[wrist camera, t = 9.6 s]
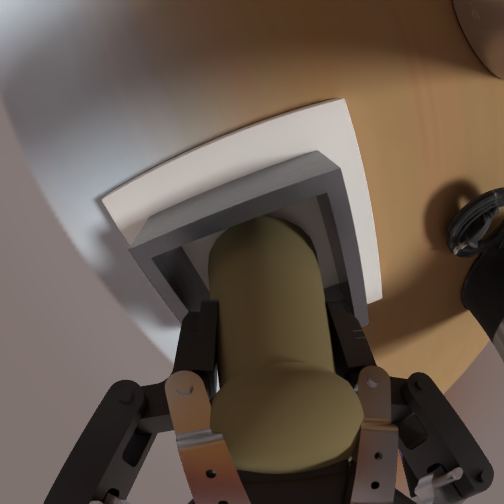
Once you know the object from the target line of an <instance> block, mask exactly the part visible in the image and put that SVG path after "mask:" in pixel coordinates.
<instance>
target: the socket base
mask: <svg viewBox="0 0 504 504" xmlns="http://www.w3.org/2000/svg"><path fill="white" fill-rule="evenodd" d="M316 150H318V151H320V152H321V153H322V154H323V155H325V156H326V157H327V158H329V159H330V160H331V161H333V162H334V163H335V164H336V165H338V166H339V167H340V168H341V171H342V175H343V179H344V183H345V187H346V191H347V195H348V199H349V203H350V208H351V212H352V217H353V222H354V227H355V232H356V237H357V242H358V247H359V253H360V259H361V265H362V271H363V278H364V285H365V292H366V300H367V304H369V303H372V302H374V301H377V300H380V299H382V285H381V274H380V264H379V255H378V247H377V240H376V233H375V226H374V220H373V214H372V208H371V202H370V197H369V192H368V187H367V182H366V177H365V173H364V168H363V164H362V159H361V155H360V151H359V147H358V143H357V140H356V136H355V132H354V129H353V125H352V122H351V118H350V115H349V112H348V108H347V105H346V102H345V99H344V98H334V99H330V100H327V101H323V102H319V103H316V104H312V105H309V106H305V107H302V108H299V109H296V110H292V111H289V112H286V113H283V114H280V115H277V116H274V117H271V118H268V119H266V120H263V121H260V122H257V123H254V124H252V125H249V126H246V127H244V128H241V129H239V130H236V131H234V132H231V133H229V134H226V135H224V136H221V137H219V138H216V139H214V140H212V141H209V142H207V143H205V144H202V145H200V146H198V147H196V148H194V149H191V150H189V151H187V152H185V153H183V154H181V155H179V156H176V157H174V158H172V159H170V160H168V161H166V162H164V163H162V164H160V165H158V166H156V167H154V168H152V169H151V170H149V171H147V172H145V173H143V174H141V175H139V176H137V177H136V178H134V179H132V180H130V181H128V182H127V183H125V184H123V185H121V186H119V187H118V188H116V189H114V190H113V191H111V192H109V193H108V194H107V195H106V196H105V197H104V198H103V199H102V202H103V203H104V205H105V207H106V208H107V210H108V212H109V213H110V215H111V217H112V218H113V220H114V222H115V223H116V225H117V227H118V228H119V230H120V231H121V233H122V235H123V236H124V238H125V239H126V241H127V242H128V244H129V245H130V246H131V245H132V243H133V241H134V240H135V238H136V237H137V235H138V233H139V232H140V230H141V229H142V227H143V226H144V224H145V223H146V221H147V219H148V218H149V217H150V216H152V215H154V214H156V213H158V212H160V211H162V210H165V209H167V208H169V207H171V206H173V205H176V204H178V203H180V202H182V201H185V200H187V199H189V198H192V197H194V196H196V195H199V194H201V193H203V192H206V191H208V190H210V189H213V188H215V187H218V186H220V185H223V184H225V183H228V182H230V181H233V180H235V179H238V178H240V177H243V176H246V175H248V174H251V173H253V172H256V171H259V170H261V169H264V168H267V167H270V166H272V165H275V164H278V163H281V162H284V161H287V160H289V159H292V158H295V157H298V156H301V155H304V154H307V153H310V152H313V151H316ZM263 216H267V217H274V218H281V219H285V220H287V221H289V222H291V223H293V224H295V225H297V226H299V227H300V228H301V229H302V230H303V231H304V232H305V233H306V234H307V235H308V236H309V237H310V238H311V240H312V242H313V245H314V247H315V249H316V252H317V257H318V263H319V268H320V273H321V279H322V284H323V289H324V288H327V287H330V286H333V285H336V284H338V283H339V280H338V276H337V271H336V267H335V263H334V259H333V255H332V251H331V247H330V244H329V240H328V236H327V232H326V229H325V225H324V221H323V218H322V214H321V211H320V207H319V204H318V201H317V197H316V196H315V197H312V198H309V199H307V200H304V201H301V202H298V203H295V204H292V205H289V206H287V207H284V208H281V209H278V210H275V211H273V212H270V213H267V214H264V215H262V216H259V217H263ZM227 229H228V228H227ZM225 230H226V229H224V230H221V231H219V232H216V233H213V234H211V235H208V236H206V237H203V238H200V239H198V240H195V241H193V242H190V243H188V244H185V245H182V248H183V250H184V251H185V253H186V255H187V256H188V258H189V260H190V261H191V263H192V264H193V266H194V268H195V269H196V271H197V273H198V274H199V276H200V277H201V279H202V281H203V282H204V284H205V285H206V287H207V289H208V290H209V292H210V289H209V277H208V261H209V253H210V251H211V249H212V247H213V245H214V243H215V241H216V239H217V238H218V237H219V236H220V235H221V234H222V233H223V232H224V231H225Z"/></svg>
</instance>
